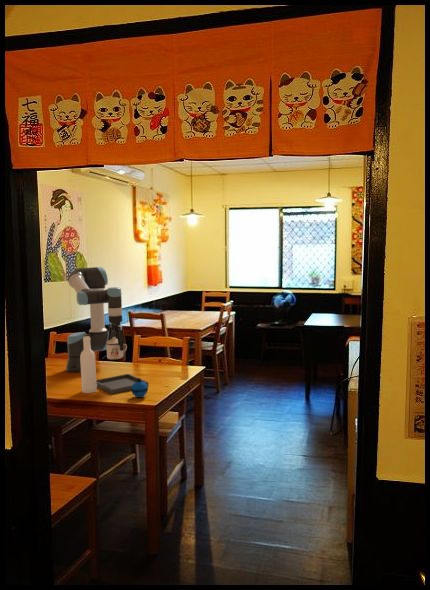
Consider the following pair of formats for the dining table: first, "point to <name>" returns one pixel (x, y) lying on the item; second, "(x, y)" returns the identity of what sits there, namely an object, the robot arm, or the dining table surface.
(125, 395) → the dining table surface
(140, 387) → the ornament
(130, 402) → the dining table surface
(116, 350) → the teacup with lid
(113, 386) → the serving tray
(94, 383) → the bottle
